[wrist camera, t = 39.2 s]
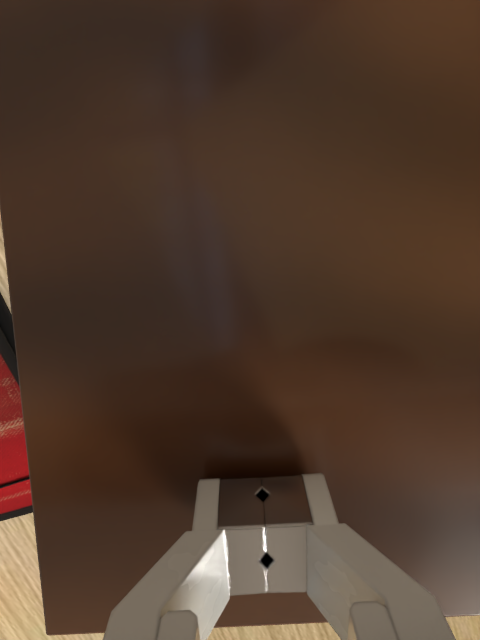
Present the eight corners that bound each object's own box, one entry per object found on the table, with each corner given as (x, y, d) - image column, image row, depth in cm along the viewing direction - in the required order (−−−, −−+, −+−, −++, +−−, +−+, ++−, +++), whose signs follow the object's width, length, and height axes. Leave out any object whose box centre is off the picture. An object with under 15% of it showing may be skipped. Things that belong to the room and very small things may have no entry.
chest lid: (477, 592, 11) (494, 616, 11) (58, 612, 12) (45, 636, 11) (478, -15, 10) (499, -41, 9) (-4, 14, 10) (-25, -8, 9)
